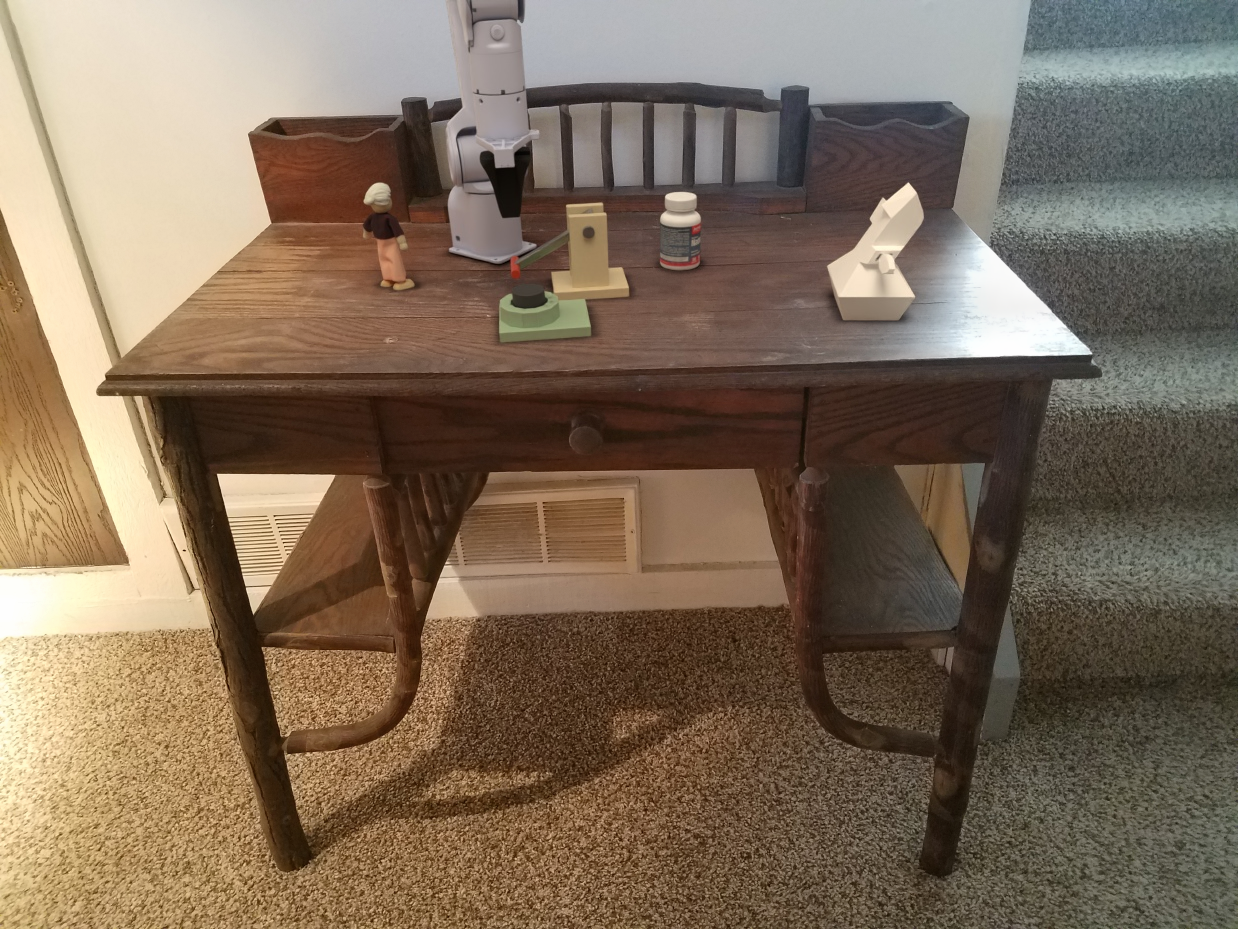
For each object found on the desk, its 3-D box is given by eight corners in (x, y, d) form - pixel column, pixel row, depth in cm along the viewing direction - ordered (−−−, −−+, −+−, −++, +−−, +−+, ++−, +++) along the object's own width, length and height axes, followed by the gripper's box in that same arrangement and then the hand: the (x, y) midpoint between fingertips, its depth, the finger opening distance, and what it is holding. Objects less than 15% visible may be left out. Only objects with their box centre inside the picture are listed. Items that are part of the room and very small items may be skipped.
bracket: (554, 301, 104) (549, 221, 99) (551, 280, 110) (546, 203, 105) (629, 296, 105) (627, 216, 100) (622, 276, 111) (620, 198, 105)
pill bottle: (697, 272, 111) (698, 203, 106) (656, 270, 112) (656, 201, 107) (702, 258, 115) (704, 190, 111) (663, 256, 116) (663, 189, 111)
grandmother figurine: (428, 283, 110) (412, 181, 103) (410, 293, 107) (393, 190, 100) (379, 275, 113) (361, 176, 106) (360, 285, 110) (340, 184, 103)
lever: (517, 285, 103) (506, 268, 102) (516, 270, 108) (506, 254, 106) (604, 234, 101) (593, 216, 100) (599, 220, 106) (590, 203, 104)
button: (513, 311, 95) (512, 296, 94) (513, 299, 98) (511, 284, 97) (546, 309, 96) (545, 294, 95) (544, 296, 99) (543, 282, 98)
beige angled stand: (838, 334, 95) (853, 208, 87) (821, 285, 106) (834, 171, 99) (917, 334, 94) (939, 207, 86) (892, 286, 106) (909, 170, 98)
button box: (500, 343, 95) (497, 317, 93) (500, 313, 102) (497, 289, 100) (591, 336, 96) (590, 311, 94) (585, 308, 102) (584, 283, 101)
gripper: (538, 101, 88) (548, 233, 95) (534, 77, 100) (542, 196, 107) (468, 104, 87) (483, 237, 94) (472, 80, 99) (485, 199, 107)
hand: (510, 216), depth 101 cm, fingers closed
